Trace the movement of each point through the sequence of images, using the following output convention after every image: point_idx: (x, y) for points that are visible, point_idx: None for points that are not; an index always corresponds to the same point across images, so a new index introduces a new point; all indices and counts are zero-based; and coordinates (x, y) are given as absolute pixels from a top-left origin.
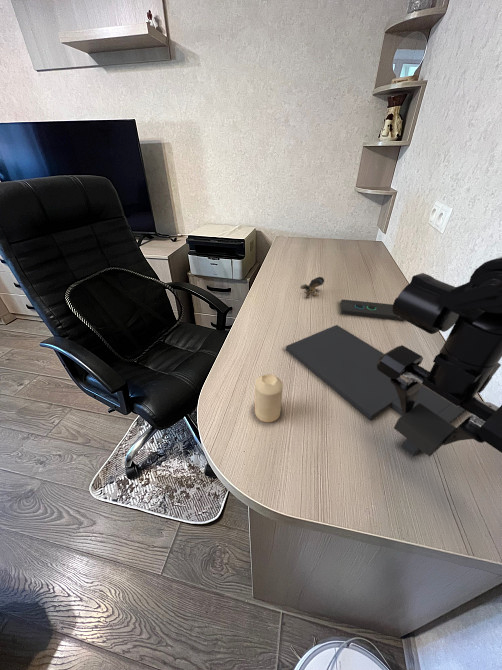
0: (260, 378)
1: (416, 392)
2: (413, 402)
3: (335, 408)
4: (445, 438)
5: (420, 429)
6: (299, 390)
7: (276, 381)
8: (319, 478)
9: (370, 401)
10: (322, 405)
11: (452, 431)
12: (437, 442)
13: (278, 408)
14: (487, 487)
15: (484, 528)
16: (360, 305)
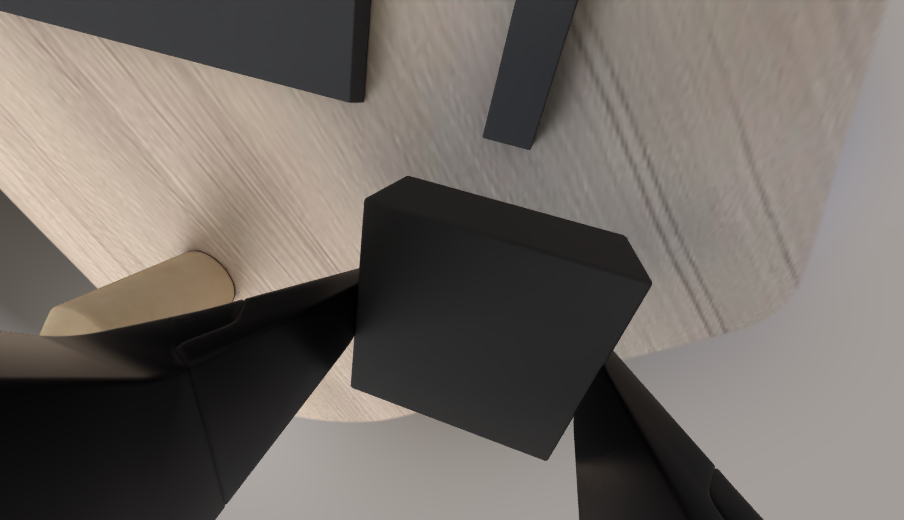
0: None
1: (216, 399)
2: (315, 326)
3: (272, 142)
4: (576, 460)
5: (453, 400)
6: (174, 158)
7: None
8: None
9: (304, 23)
10: (246, 162)
11: (602, 507)
12: (548, 436)
13: (194, 304)
14: (825, 73)
15: (773, 251)
16: None
